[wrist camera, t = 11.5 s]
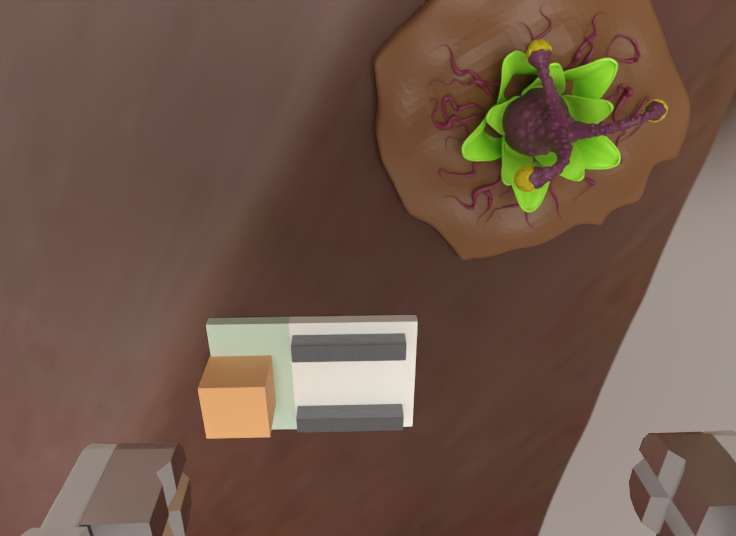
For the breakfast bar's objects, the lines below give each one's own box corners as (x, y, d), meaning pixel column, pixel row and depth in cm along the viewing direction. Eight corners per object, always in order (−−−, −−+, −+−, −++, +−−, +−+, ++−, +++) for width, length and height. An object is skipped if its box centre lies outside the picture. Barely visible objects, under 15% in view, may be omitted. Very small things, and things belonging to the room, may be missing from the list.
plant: (317, 58, 36) (305, 86, 26) (599, -128, 32) (712, -179, 22) (455, 285, 44) (486, 372, 34) (695, 159, 40) (809, 217, 30)
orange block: (271, 355, 45) (264, 387, 41) (276, 403, 47) (270, 437, 44) (209, 356, 45) (197, 388, 41) (217, 404, 47) (206, 438, 44)
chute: (416, 314, 45) (419, 332, 43) (411, 418, 50) (414, 439, 48) (208, 318, 44) (201, 336, 42) (224, 422, 49) (218, 443, 47)
